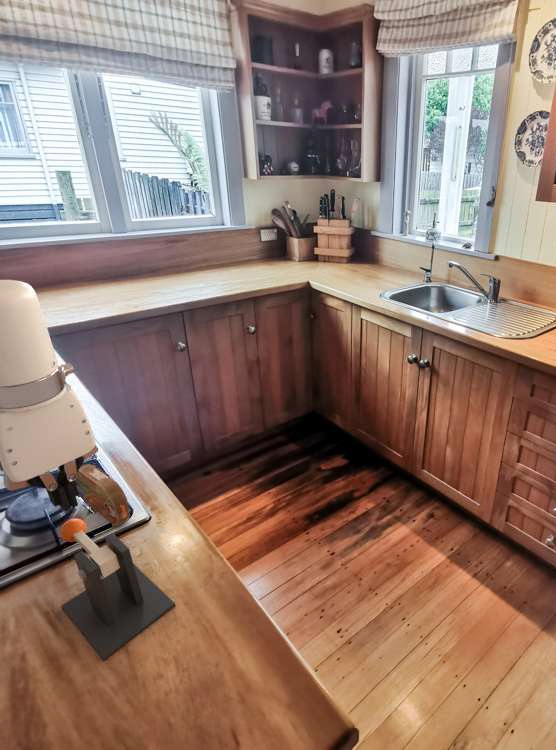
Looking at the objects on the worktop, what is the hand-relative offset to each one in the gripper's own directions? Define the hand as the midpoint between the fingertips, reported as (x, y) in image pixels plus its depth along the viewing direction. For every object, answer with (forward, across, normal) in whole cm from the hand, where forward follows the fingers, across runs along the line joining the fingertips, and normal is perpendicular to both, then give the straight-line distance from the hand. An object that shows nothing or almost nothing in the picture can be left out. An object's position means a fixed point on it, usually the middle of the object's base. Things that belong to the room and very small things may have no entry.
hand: (67, 504), depth 64 cm
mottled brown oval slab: (+15, -8, -13) cm, 22 cm away
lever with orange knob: (+7, 0, +3) cm, 8 cm away
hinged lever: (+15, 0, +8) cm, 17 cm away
